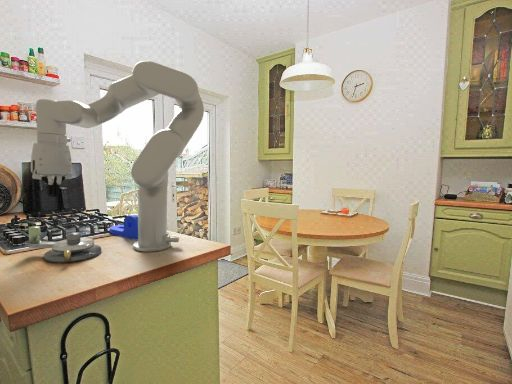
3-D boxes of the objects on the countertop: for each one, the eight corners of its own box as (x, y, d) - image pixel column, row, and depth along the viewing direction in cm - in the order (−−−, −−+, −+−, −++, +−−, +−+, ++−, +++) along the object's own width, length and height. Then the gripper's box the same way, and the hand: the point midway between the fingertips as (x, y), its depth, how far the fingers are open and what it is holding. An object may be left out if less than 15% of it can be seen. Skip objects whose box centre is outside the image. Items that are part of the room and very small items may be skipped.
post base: (108, 246, 94) (108, 236, 93) (86, 264, 78) (86, 251, 78) (61, 246, 92) (61, 235, 91) (29, 264, 76) (28, 251, 75)
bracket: (153, 235, 111) (153, 213, 110) (136, 240, 103) (136, 217, 102) (122, 228, 118) (122, 208, 117) (104, 232, 111) (104, 211, 110)
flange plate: (100, 241, 91) (99, 223, 91) (84, 252, 81) (83, 232, 80) (41, 241, 89) (40, 222, 88) (17, 252, 78) (16, 231, 77)
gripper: (71, 141, 95) (71, 193, 97) (17, 137, 82) (19, 197, 84) (82, 142, 91) (83, 196, 93) (28, 137, 78) (30, 200, 80)
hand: (53, 196), depth 89 cm, fingers closed
